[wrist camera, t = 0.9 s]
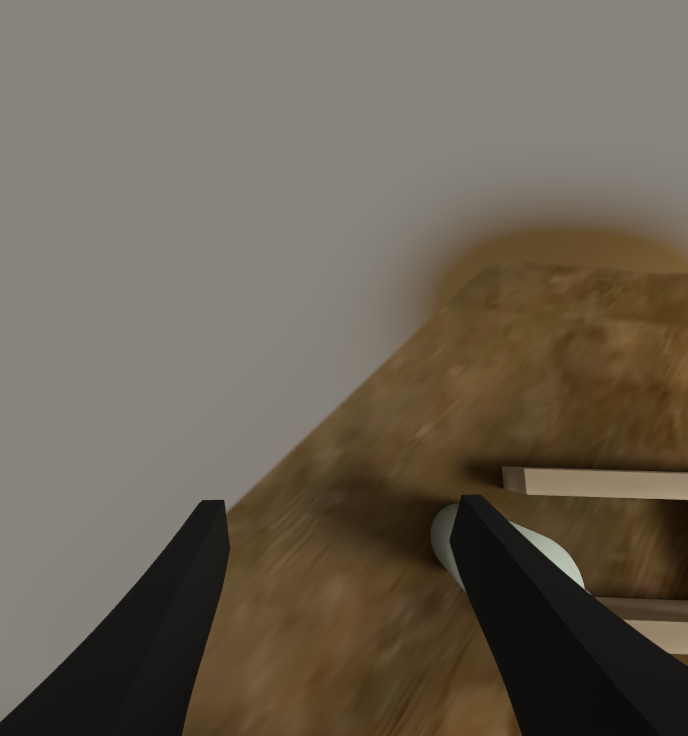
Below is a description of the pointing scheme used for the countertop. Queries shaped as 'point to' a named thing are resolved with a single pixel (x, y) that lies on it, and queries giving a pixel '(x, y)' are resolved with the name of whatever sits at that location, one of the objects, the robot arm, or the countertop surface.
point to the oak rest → (648, 616)
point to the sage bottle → (548, 547)
